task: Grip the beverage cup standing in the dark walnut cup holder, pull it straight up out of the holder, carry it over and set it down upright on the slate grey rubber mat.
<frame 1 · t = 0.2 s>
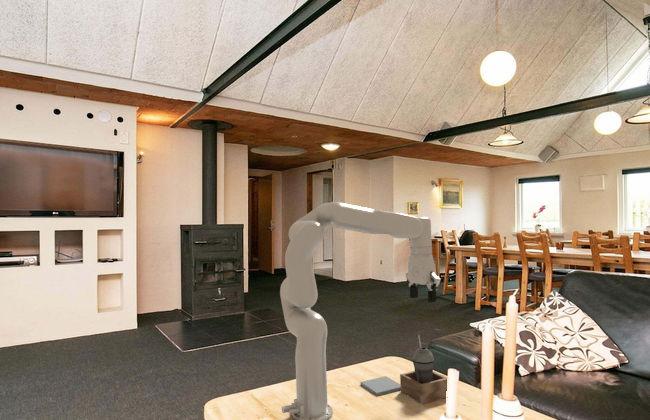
hand: (422, 299, 145), 31 cm above the table, tool pointing down, fingers open, 9 cm apart
beverage cup: (424, 394, 138), resting in cup holder
cup holder: (424, 394, 138), on the table
rubber mat: (381, 386, 146), on the table
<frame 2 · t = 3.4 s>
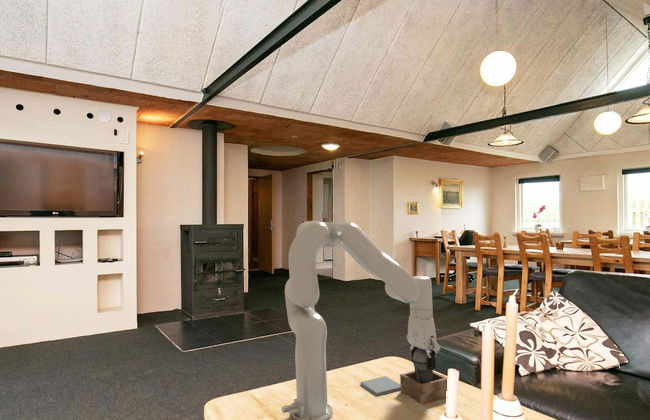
hand: (423, 364, 139), 10 cm above the table, tool pointing down, fingers closed on beverage cup, 7 cm apart
beverage cup: (424, 394, 138), resting in cup holder, touching gripper
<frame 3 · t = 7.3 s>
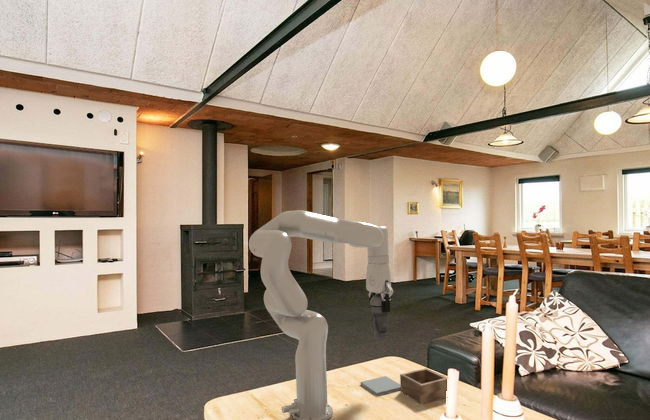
hand: (379, 309, 146), 27 cm above the table, tool pointing down, fingers closed on beverage cup, 7 cm apart
beverage cup: (380, 338, 146), point 17 cm above the table, touching gripper
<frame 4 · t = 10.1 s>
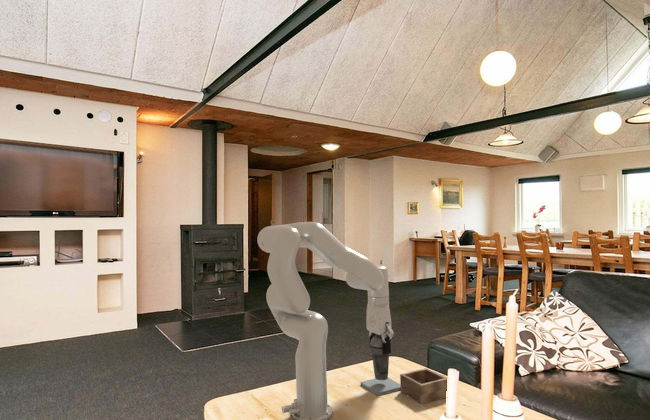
hand: (380, 350, 146), 13 cm above the table, tool pointing down, fingers closed on beverage cup, 7 cm apart
beverage cup: (381, 378, 146), point 3 cm above the table, touching gripper
when the fingers open (13 cm above the table, at t = 11.2 s): beverage cup drops 2 cm, resting on rubber mat.
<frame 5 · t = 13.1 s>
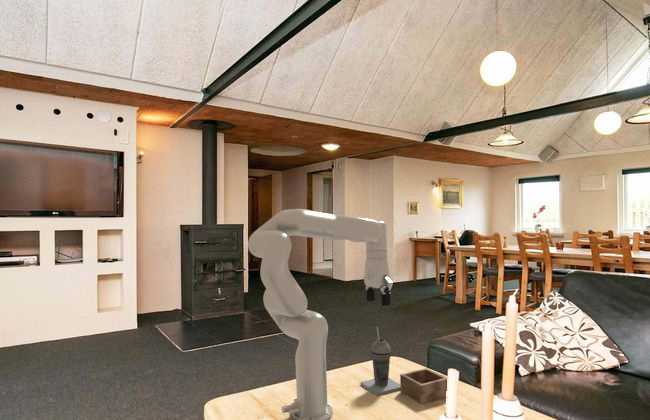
hand: (378, 303, 146), 30 cm above the table, tool pointing down, fingers open, 9 cm apart
beverage cup: (381, 384, 146), point 1 cm above the table, touching rubber mat
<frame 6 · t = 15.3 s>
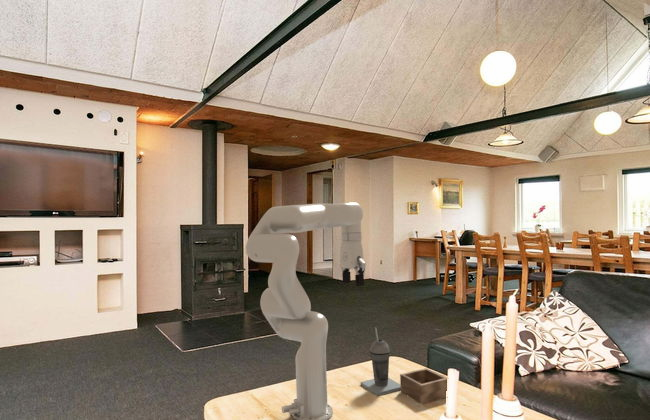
hand: (353, 283, 151), 36 cm above the table, tool pointing down, fingers open, 9 cm apart
nothing on the table moved.
at the end: beverage cup 0.2 cm from the rubber mat (horizontally); beverage cup tilted 0°; the gripper is holding nothing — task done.
